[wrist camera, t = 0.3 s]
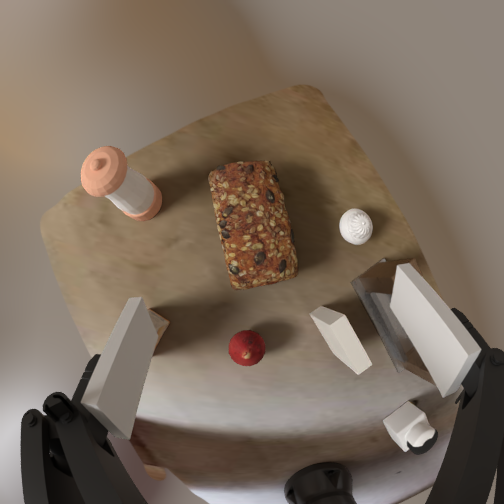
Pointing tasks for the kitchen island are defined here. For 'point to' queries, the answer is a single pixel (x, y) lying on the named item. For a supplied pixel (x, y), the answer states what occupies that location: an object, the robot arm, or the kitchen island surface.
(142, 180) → the pepper shaker
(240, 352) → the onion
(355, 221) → the white rounded ridged piece
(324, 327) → the door panel
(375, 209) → the kitchen island surface
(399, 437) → the medicine bottle
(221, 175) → the bread
